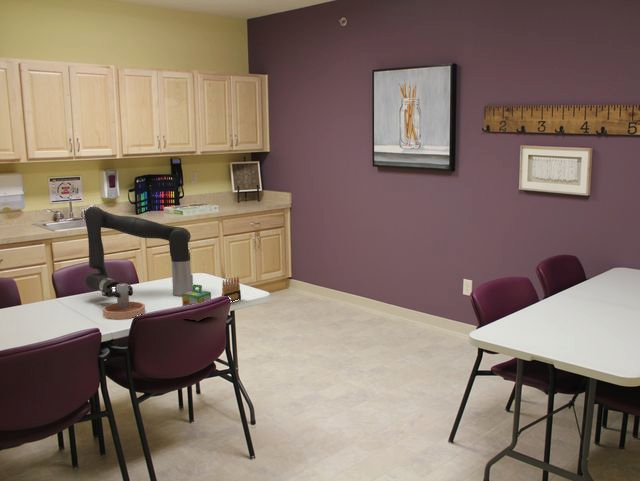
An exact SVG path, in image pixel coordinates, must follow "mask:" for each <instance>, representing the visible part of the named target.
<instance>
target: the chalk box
mask: <svg viewBox="0 0 640 481" xmlns="http://www.w3.org/2000/svg"><path fill="white" fill-rule="evenodd" d="M196 288H198V289H196ZM181 298H182V300H181V302H182V307H183V306H187V305H192V304H197V303H201V302H204V301H208V300H211V301H212V292H211V291H208V290H203V286H202V284H194V283H193V290H192V291H189V292H186V293H183V294H182V296H181Z"/></svg>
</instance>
